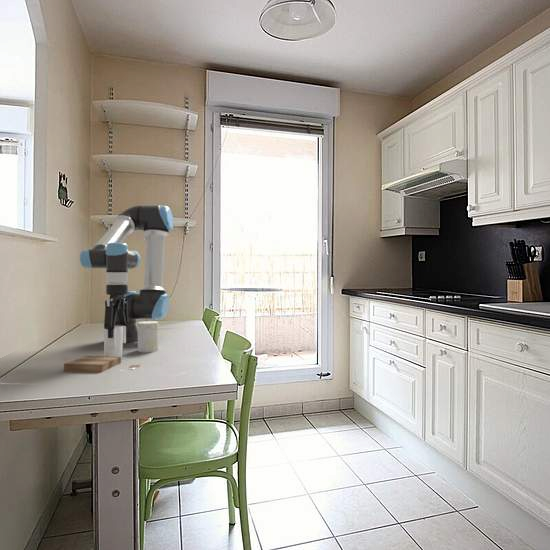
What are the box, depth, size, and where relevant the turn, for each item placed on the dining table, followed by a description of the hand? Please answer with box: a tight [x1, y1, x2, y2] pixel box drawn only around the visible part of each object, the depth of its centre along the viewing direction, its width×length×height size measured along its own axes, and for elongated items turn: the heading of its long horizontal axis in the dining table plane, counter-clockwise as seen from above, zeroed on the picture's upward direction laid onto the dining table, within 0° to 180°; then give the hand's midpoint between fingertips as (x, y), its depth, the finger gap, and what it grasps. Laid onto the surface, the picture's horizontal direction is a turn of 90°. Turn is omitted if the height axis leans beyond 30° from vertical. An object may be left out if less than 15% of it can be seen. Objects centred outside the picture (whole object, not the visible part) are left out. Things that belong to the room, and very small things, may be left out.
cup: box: [137, 320, 160, 353], centre depth 170 cm, size 8×8×12 cm
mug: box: [103, 326, 124, 359], centre depth 157 cm, size 10×7×12 cm, turn 21°
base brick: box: [63, 355, 122, 373], centre depth 141 cm, size 13×13×3 cm
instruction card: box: [119, 364, 141, 372], centre depth 140 cm, size 10×7×1 cm
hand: (117, 344), depth 156 cm, fingers closed on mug, 7 cm apart
